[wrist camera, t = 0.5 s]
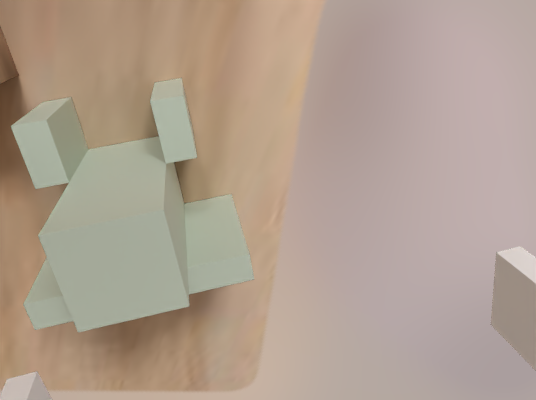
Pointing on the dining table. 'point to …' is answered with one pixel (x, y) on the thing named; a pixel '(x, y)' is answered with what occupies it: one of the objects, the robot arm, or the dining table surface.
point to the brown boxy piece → (6, 61)
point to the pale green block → (124, 220)
